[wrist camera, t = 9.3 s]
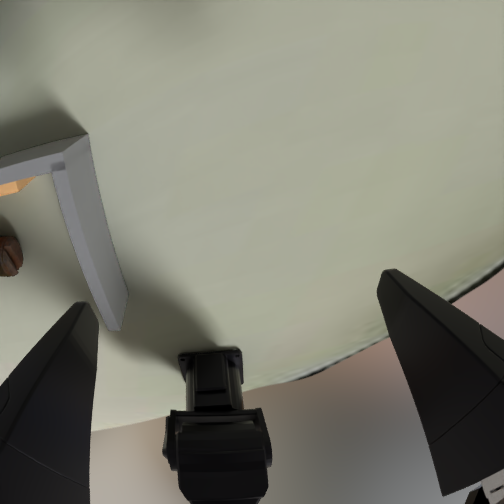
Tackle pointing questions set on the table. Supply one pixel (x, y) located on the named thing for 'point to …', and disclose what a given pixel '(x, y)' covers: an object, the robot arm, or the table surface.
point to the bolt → (10, 256)
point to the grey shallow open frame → (76, 214)
